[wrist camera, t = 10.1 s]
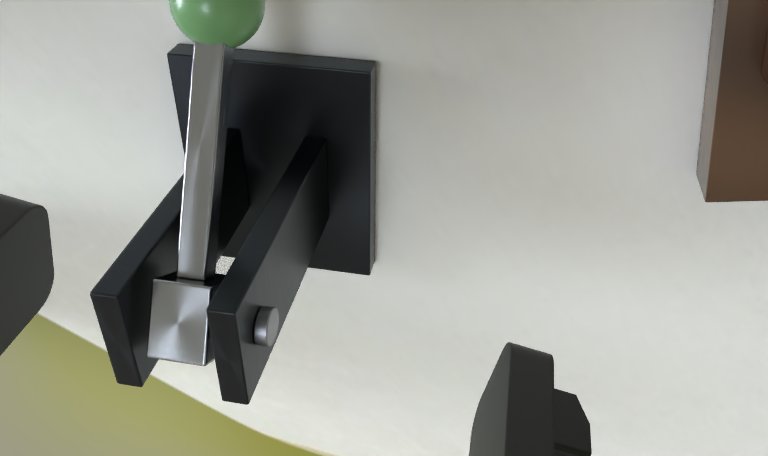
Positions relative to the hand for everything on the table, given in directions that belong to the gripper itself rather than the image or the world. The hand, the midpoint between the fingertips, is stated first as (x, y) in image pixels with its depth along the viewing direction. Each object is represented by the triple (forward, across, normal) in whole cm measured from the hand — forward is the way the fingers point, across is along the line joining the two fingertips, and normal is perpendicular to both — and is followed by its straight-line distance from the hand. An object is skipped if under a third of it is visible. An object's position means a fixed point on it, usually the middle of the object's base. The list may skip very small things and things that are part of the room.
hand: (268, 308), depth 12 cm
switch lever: (+13, +5, +6) cm, 15 cm away
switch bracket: (+20, +5, +10) cm, 23 cm away
